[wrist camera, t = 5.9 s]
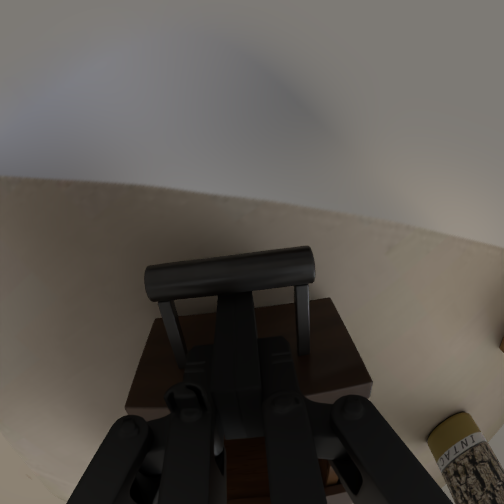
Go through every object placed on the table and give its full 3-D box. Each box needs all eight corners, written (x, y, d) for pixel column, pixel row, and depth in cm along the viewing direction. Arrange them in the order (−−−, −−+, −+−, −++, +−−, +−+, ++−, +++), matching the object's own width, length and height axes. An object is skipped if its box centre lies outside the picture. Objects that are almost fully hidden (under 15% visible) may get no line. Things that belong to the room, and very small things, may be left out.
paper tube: (475, 411, 29) (548, 542, 6) (441, 443, 31) (499, 573, 8) (453, 407, 28) (533, 561, 5) (416, 442, 30) (477, 592, 7)
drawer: (132, 236, 17) (74, 306, 10) (328, 211, 17) (389, 269, 10) (199, 436, 25) (194, 509, 17) (324, 422, 25) (344, 493, 17)
